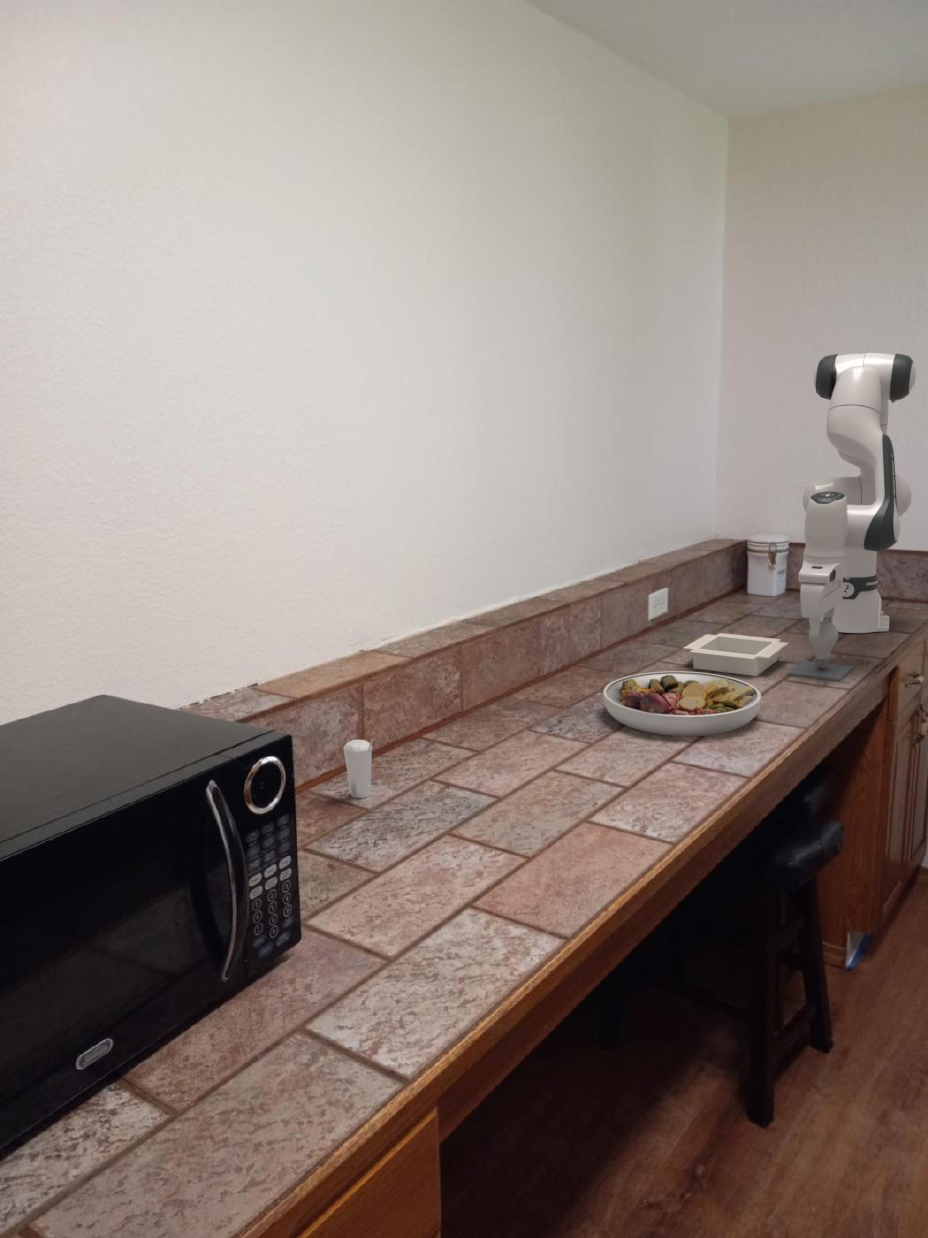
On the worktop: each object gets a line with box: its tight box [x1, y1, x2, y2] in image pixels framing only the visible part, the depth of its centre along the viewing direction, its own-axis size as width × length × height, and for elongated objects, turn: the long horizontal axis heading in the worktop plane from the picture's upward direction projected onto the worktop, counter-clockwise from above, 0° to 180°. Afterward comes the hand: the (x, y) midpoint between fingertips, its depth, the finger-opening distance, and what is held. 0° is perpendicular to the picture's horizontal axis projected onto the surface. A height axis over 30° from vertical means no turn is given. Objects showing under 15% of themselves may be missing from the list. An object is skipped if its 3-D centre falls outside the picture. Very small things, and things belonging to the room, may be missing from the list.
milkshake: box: [343, 738, 374, 799], centre depth 159 cm, size 4×5×10 cm
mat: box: [787, 660, 854, 682], centre depth 219 cm, size 11×11×1 cm
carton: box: [682, 632, 790, 677], centre depth 227 cm, size 20×20×4 cm
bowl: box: [602, 670, 762, 737], centre depth 193 cm, size 30×30×8 cm
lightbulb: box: [808, 621, 839, 670], centre depth 217 cm, size 6×6×11 cm
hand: (821, 630), depth 217 cm, fingers open, 8 cm apart
